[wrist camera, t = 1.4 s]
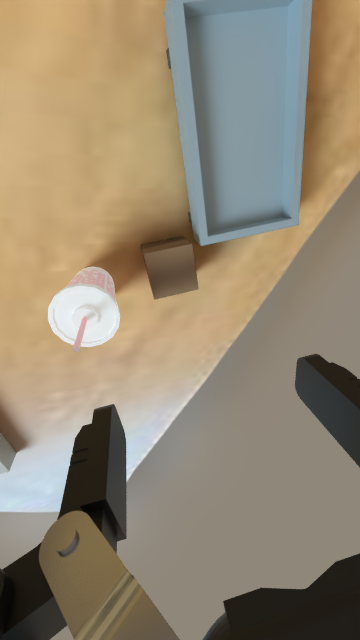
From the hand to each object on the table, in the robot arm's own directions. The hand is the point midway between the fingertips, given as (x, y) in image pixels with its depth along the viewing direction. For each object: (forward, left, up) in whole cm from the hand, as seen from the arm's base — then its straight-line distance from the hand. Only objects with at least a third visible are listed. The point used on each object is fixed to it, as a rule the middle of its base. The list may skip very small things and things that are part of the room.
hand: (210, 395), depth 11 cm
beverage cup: (+1, -8, -23) cm, 24 cm away
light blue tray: (-11, +10, -23) cm, 27 cm away
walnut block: (0, +1, -23) cm, 23 cm away
